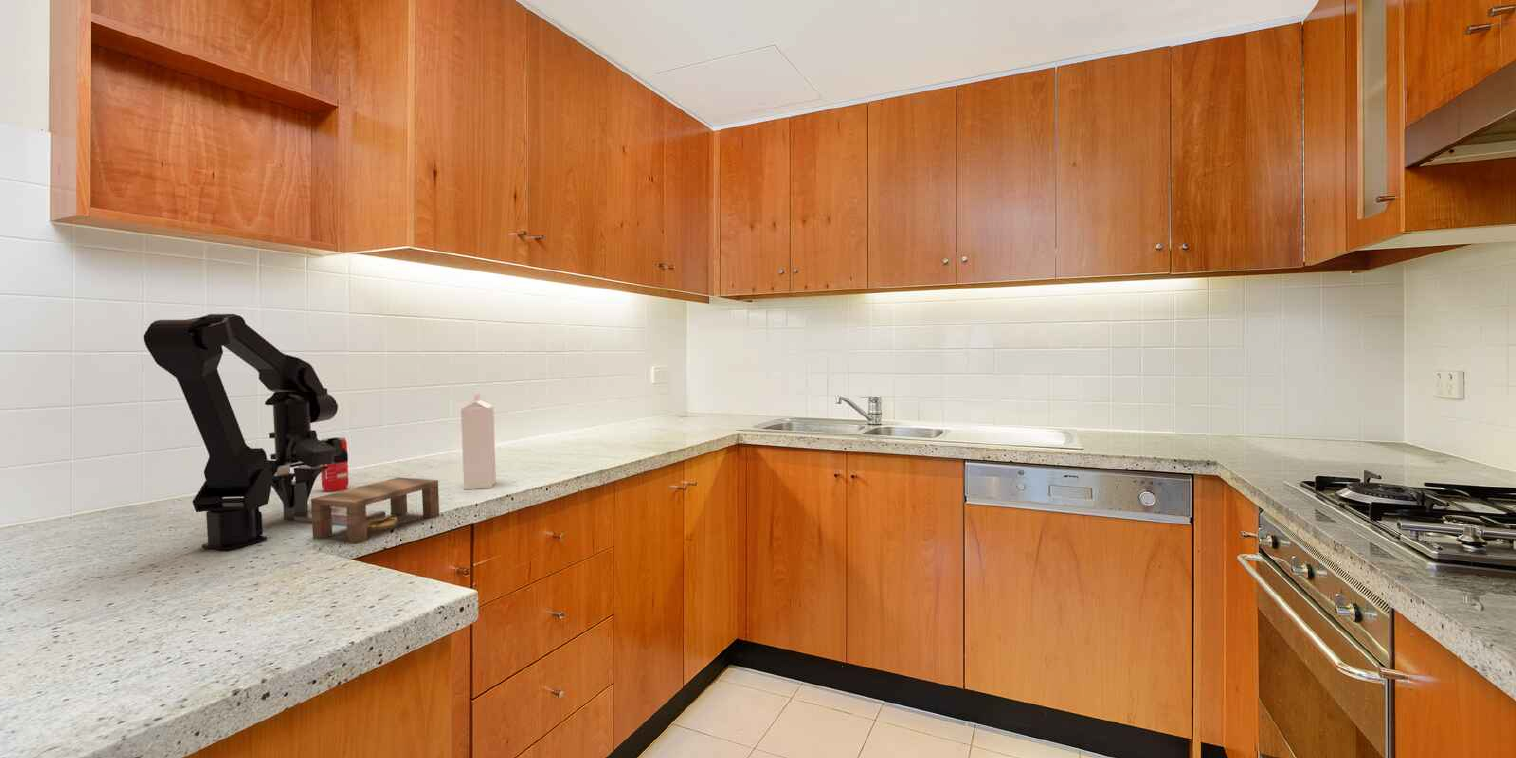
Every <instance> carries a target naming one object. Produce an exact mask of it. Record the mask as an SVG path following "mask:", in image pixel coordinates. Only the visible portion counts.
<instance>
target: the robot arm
mask: <svg viewBox="0 0 1516 758" xmlns="http://www.w3.org/2000/svg"><path fill="white" fill-rule="evenodd" d="M143 343H144V345H145V347H146V349H147V351H148V352H149V353H150V355H151V357H152V358H153V360H154V361H155V363H156V364H157V365H158V366H159V367H161V368H162V369H164V371H166V372H168V373H169V374H170V375H172V376H173V377H174V378H176V380H177V382H178V384H179V386H180V388H181V391H182V394H183V396H184V399H185V402H186V404H187V406H188V408H189V410H190V411H189V412H190V413H191V415H192V417H193V419H194V422H195V425H196V427H197V429H198V431H199V432H198V433H199V434H200V437H201V438H202V441H203V443H204V446H205V448H206V451H207V453H208V459H207V462H206V464H205V467H204V470H203V475H204V479H205V481H204V483H203V484H202V486H201V487H200V489H199V491H198V492H197V494H196V495H195V497H194V498H193V500H192V506H193V508H194V510H195V512H196V513H200V512H201V513H202V512H205V515H206V533H207V542H206V543H202V544H201V548H203V549H211V550H219V551H231V550H234V549H238V548H241V547H245V546H248V545H252V544H256V543H260V542H262V541H266V540H268V536H267V535H263V533H264V532H263V531H264V530H263V529H264V528H263V512H261V511H260V507H263V506H266V505H268V504H269V500H270V496H271V492H272V491H271V490H272V489H273V490H274V492H275V494H277V495H278V497H279V499H280V501H282V504H283V503H284V505H285V507H286V508H291V507H292V501H293V498H292V482H293V481H301V482H306V484H307V502H308V500H309V499H310V498H309V497H310V495H311V492H312V490H313V487H314V483H315V482H316V480H317V478H318V477H319V475H320V474H321V472H322V471H324V470H326V469H327V468H328V467H325V466H323V465H324V464H328V465H329V464H332V463H335V464H337V463H342V462H347V461H348V462H349V454H348V453H349V452H348V451H347V452H346V450H345V449H344V448H343V447H342V440H341V439H339V438H340V437H330V438H329V437H328V438H329V439H327V438H326V439H327V441H326V440H322V439H321V440H322V441H321V440H320V439H318V433H317V431H316V430H311V429H312V428H311V424H312V423H313V424H314V423H320V422H324V421H329V420H331V419H333V418H334V417H335V416H336V415H337V413H338V410H339V404H338V402H337V400H336V399H335V398H334V397H333V396H332V395H331V394H328V389H327V388H326V387H324V386H323V384H322V382H321V381H320V378H319V377H318V375H317V373H316V371H315V369H314V367H313V366H312V365H311V364H310V363H309V362H307V361H306V360H303V359H301V358H300V357H297V356H292V355H289V354H285V353H284V352H282V351H281V350H279V349H278V348H277V347H275V346H274V345H273V344H272V343H270V342H269V341H268V340H266V339H265V338H264V337H263V335H261V334H259V332H257V331H255V330H254V329H253V328H252V327H250V325H248V324H247V323H246V321H245V319H244V317H242V316H241V315H237V314H236V313H209V314H207V315H203V316H199V317H194V318H187V319H157V320H154V321H153V322H151V323H150V324H149V326H148V327H147V329H146V331H144V334H143ZM223 347H224V348H226V349H227V350H228V351H230V352H231V353H233V354H234V355H235V356H237V357H238V358H240V359H241V360H242V361H244V362H245V363H247V364H248V365H249V366H250V367H252V368H253V369H255V370H256V371H257V373H258V381H260V382H261V383H262V384H263V385H264V386H265V388H266V389H268V391H270V392H272V395H271V396H270V397H269V398H267V399H266V401H265V403H264V404H265V406H272V414H273V415H272V417H273V432H269V433H268V437H269V439H274V452H275V453H271V454H270V455H269V456H270V459H268V455H267V452H266V450H265V449H263V447H260V448H257V447H255V448H254V447H253V448H252V447H250V446H249V445H247V443H246V441H245V439H244V436H243V432H242V431H241V428H240V426H239V422H238V421H237V417H236V415H235V412H234V409H233V408H232V405H231V402H230V399H229V397H228V394H227V392H226V389H225V387H224V384H223V382H222V379H221V376H220V374H219V372H218V371H219V370H218V367H219V364H220V362H221V359H222V356H223V354H224V350H223ZM291 468H293V473H292V472H291ZM293 479H294V480H293Z"/></svg>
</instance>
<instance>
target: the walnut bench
mask: <svg viewBox="0 0 1516 758" xmlns="http://www.w3.org/2000/svg"><path fill="white" fill-rule="evenodd" d="M418 491H421V495H422V496H421V498H422V502H421V503H422V517H423V518H428V519H429V518H430V519H433V518H436V517H439V516H440V499H439V480H438V479H427V478H426V479H425V478H424V479H423V478H409V477H394V478H390V479H387V480H383V481H379V482H373V483H370V484H366V485H363V486H358V487H353V488H349V489H345V490H341V491H336V492H333V493H329V494H326V495H320V496H318V497H312V498H310V504H311V506H310V507H311V509H310V510H311V513H312V522H311V526H312V539H315V538H316V540H323V538H324V539H326V538H325V537H327V538H329V537H328V536H330V537H333V524H332V518H331V515H332V507H339V508H345V510H346V511H345V512H346V513H345V514H346V515H345V516H347V526H346V533H347V536H346V537H347V543H354V544H357V543H361V542H364V541H367V540H368V530H367V525H366V515H367V509H366V507H367V506H368V505H372V504H375V503H378V502H379V503H380V502H382V501H386V500H390V515H391V516H400V515H404V514H407V513H408V497H407V494H411V493H415V492H418Z"/></svg>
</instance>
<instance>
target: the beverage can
mask: <svg viewBox="0 0 1516 758" xmlns="http://www.w3.org/2000/svg"><path fill="white" fill-rule="evenodd" d="M338 438H339V439H341V440H342V447H343V448H344V449H345V450H346V452H347V453H348V444H347V439H346V438H345V437H338ZM327 439H329V437H327V438H322V439H321V440H320V441H322V440H326V441H327ZM348 462H349V460H348V461H347V462H342V463H337V464H335V463H332V464H329V465H328V464H324V465H323V466H325V467H328V468H327V469H326V470H324V471H322V472H321V473H320V474H321V488H322V489H323V490H324V492H326V493H328V492H329V493H330V492H331V493H332V492H333V493H335V492H341V491H345V490H348V486H349V466H348Z"/></svg>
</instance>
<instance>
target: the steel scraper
mask: <svg viewBox="0 0 1516 758" xmlns="http://www.w3.org/2000/svg"><path fill="white" fill-rule="evenodd" d="M292 498H293V501H292V507H291V508H286V507H285V505H284V503H283V502H282V505H283V519H284V520H289V521H295V522H303V523H312V512H309V510H308V509H309V506H308V501H307V484H306V482H301V481H296V480H292ZM379 516H386V510H385V511H383V510H379V511H376V512H372V513H369V514H366V520H368V519H370V518H374V517H379ZM331 518H332V525H336V526H346V527H347V515H341V514H331Z"/></svg>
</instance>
